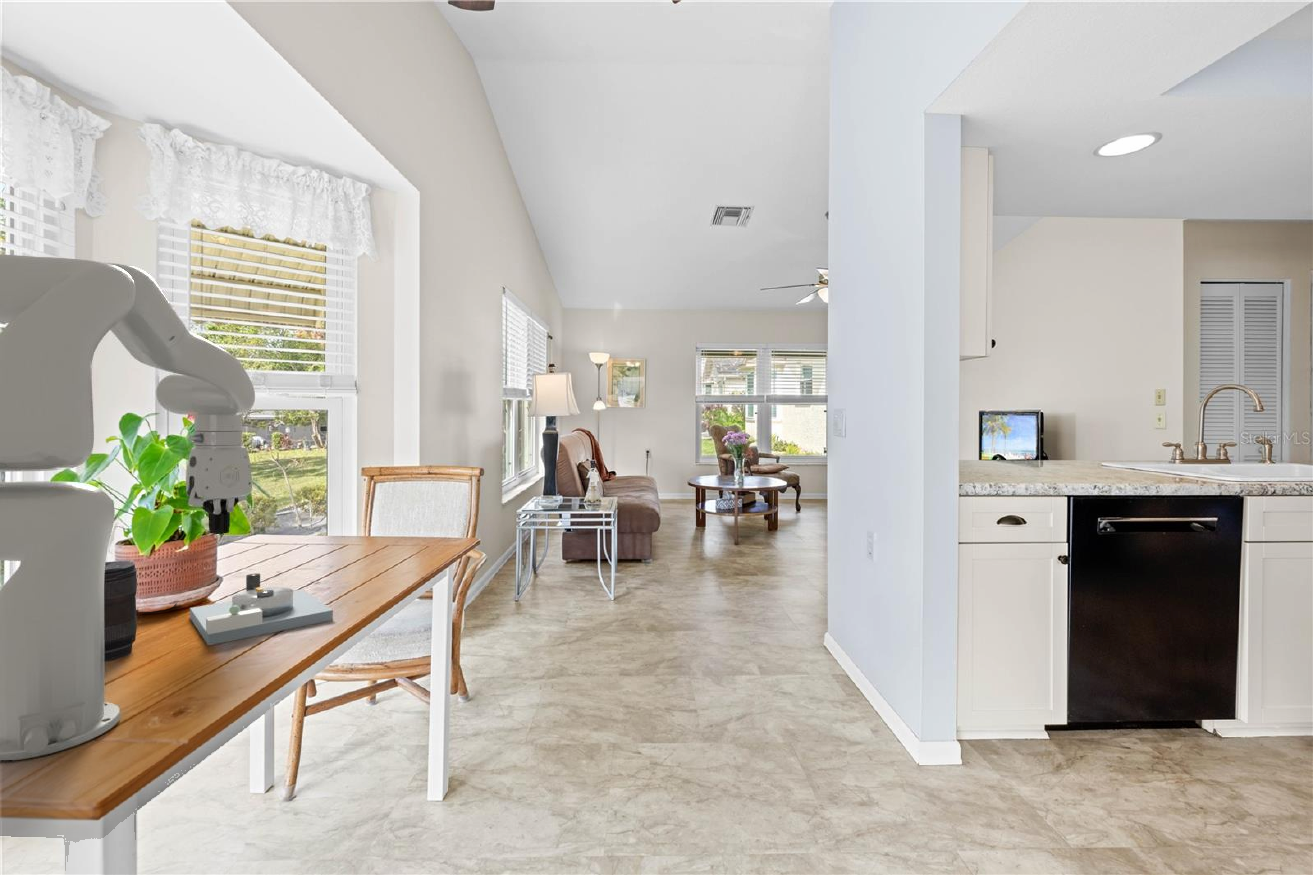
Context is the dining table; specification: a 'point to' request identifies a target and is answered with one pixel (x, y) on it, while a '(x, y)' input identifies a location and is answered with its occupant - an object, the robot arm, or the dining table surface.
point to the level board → (270, 622)
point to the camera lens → (119, 608)
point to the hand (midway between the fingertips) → (219, 532)
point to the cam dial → (263, 597)
